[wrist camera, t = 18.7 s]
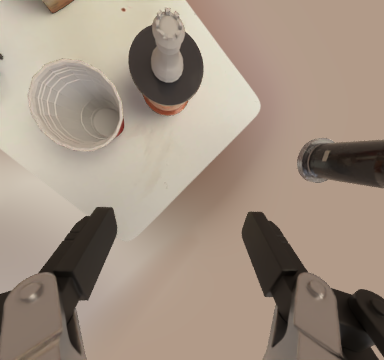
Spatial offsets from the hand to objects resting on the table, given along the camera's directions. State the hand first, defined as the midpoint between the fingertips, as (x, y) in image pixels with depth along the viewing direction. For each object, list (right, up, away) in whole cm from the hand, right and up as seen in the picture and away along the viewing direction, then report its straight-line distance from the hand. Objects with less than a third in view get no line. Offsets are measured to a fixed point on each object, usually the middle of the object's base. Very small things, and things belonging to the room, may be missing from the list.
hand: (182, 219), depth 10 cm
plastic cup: (-16, +13, +22) cm, 30 cm away
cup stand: (-5, +20, +23) cm, 31 cm away
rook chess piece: (-3, +19, +13) cm, 23 cm away
